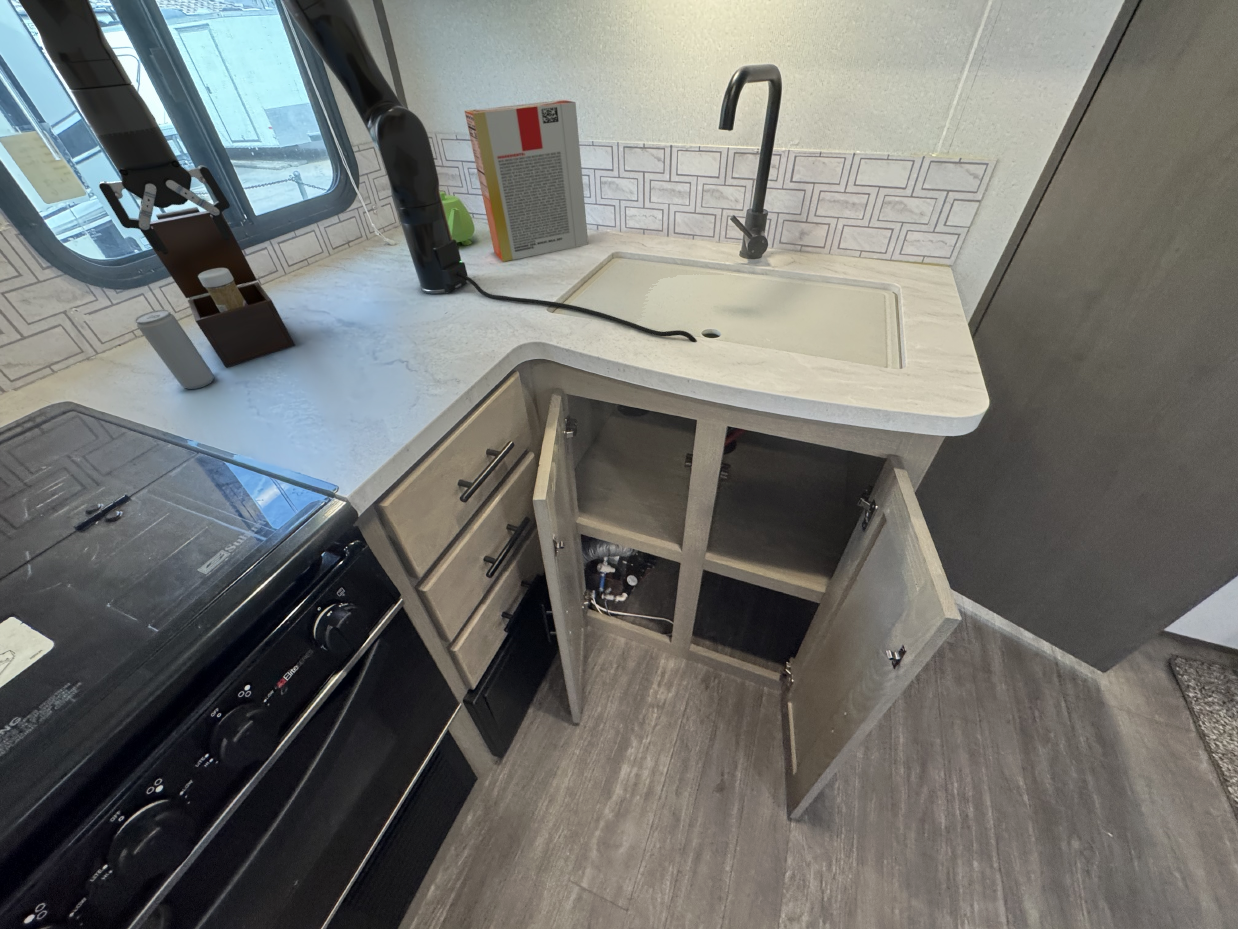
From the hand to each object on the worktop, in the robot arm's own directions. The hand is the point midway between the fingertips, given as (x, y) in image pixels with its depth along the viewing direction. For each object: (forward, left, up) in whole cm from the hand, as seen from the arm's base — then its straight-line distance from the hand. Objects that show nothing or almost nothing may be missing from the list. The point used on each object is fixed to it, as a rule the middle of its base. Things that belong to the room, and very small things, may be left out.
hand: (197, 246), depth 81 cm
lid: (+6, -3, -3) cm, 7 cm away
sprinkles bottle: (0, 0, -18) cm, 18 cm away
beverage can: (-2, +12, -19) cm, 22 cm away
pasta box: (-22, -65, -19) cm, 71 cm away
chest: (+2, -1, -18) cm, 19 cm away
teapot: (+5, -62, -19) cm, 65 cm away
